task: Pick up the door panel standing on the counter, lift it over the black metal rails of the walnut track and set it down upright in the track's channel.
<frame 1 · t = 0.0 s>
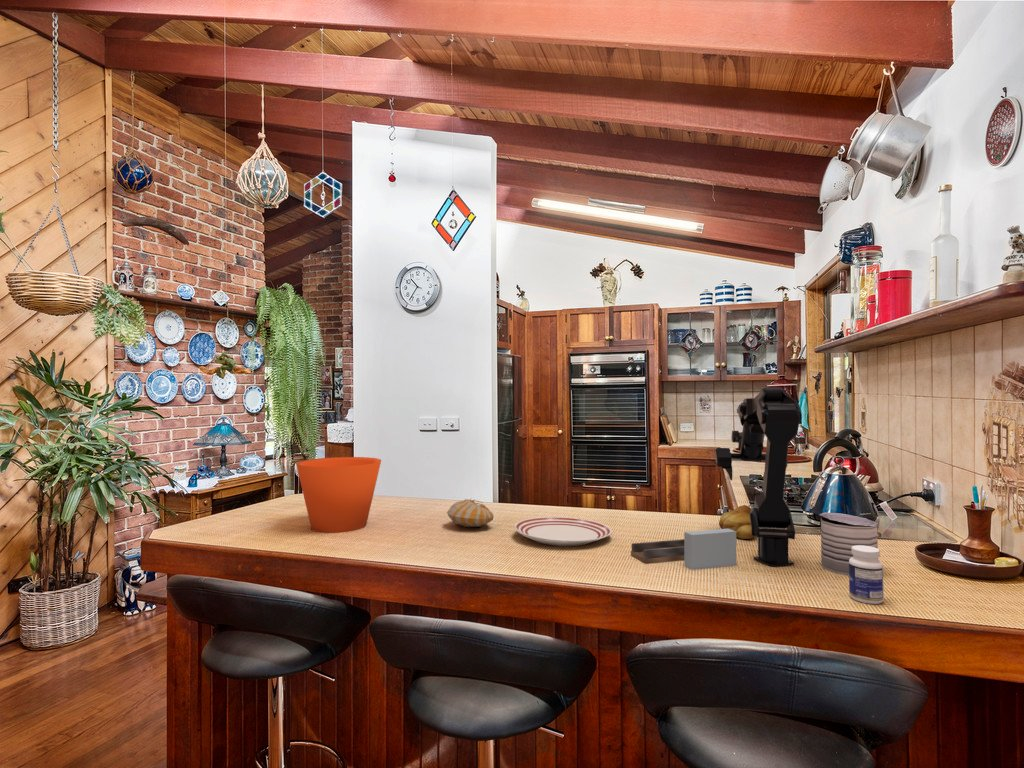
hand: (747, 480, 163), 15 cm above the table, fingers open, 9 cm apart
can: (848, 569, 127), on the table
bottom track: (670, 556, 137), on the table
bread roll: (738, 536, 158), on the table
dinner plate: (562, 538, 156), on the table
flowerpot: (339, 527, 169), on the table
nautilus: (473, 525, 172), on the table
pill bottle: (866, 600, 108), on the table
door panel: (710, 565, 130), on the table
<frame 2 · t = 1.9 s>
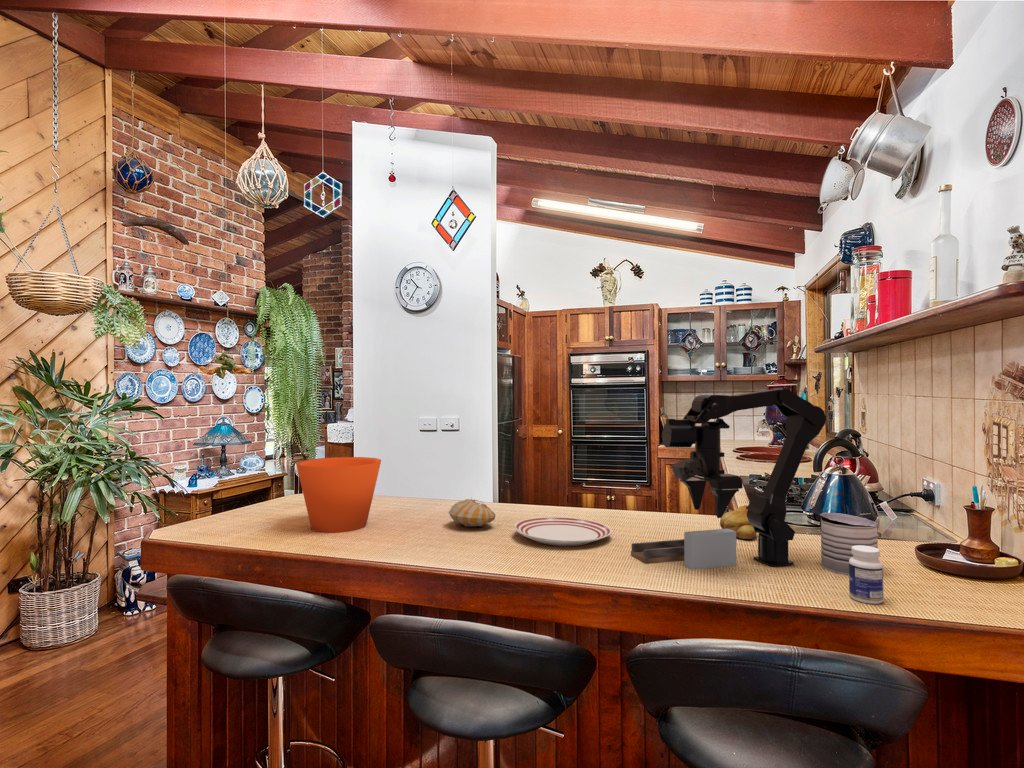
hand: (707, 513, 131), 12 cm above the table, fingers open, 9 cm apart
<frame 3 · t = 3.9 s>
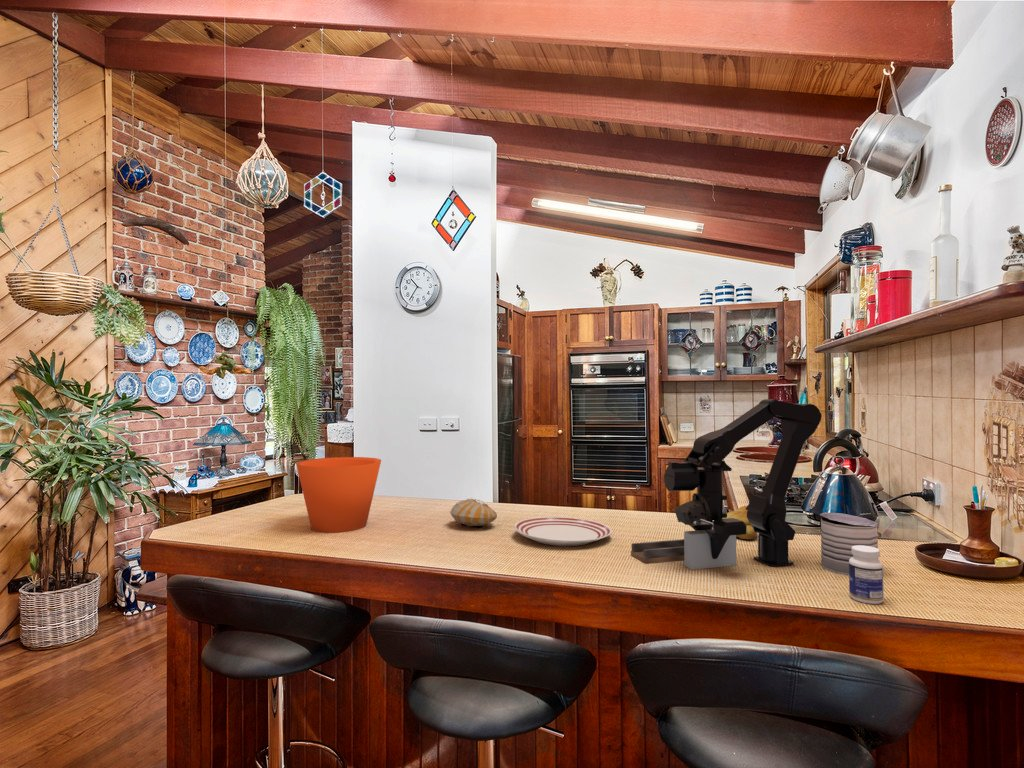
hand: (710, 556, 130), 2 cm above the table, fingers closed on door panel, 3 cm apart
door panel: (710, 565, 130), on the table, touching gripper
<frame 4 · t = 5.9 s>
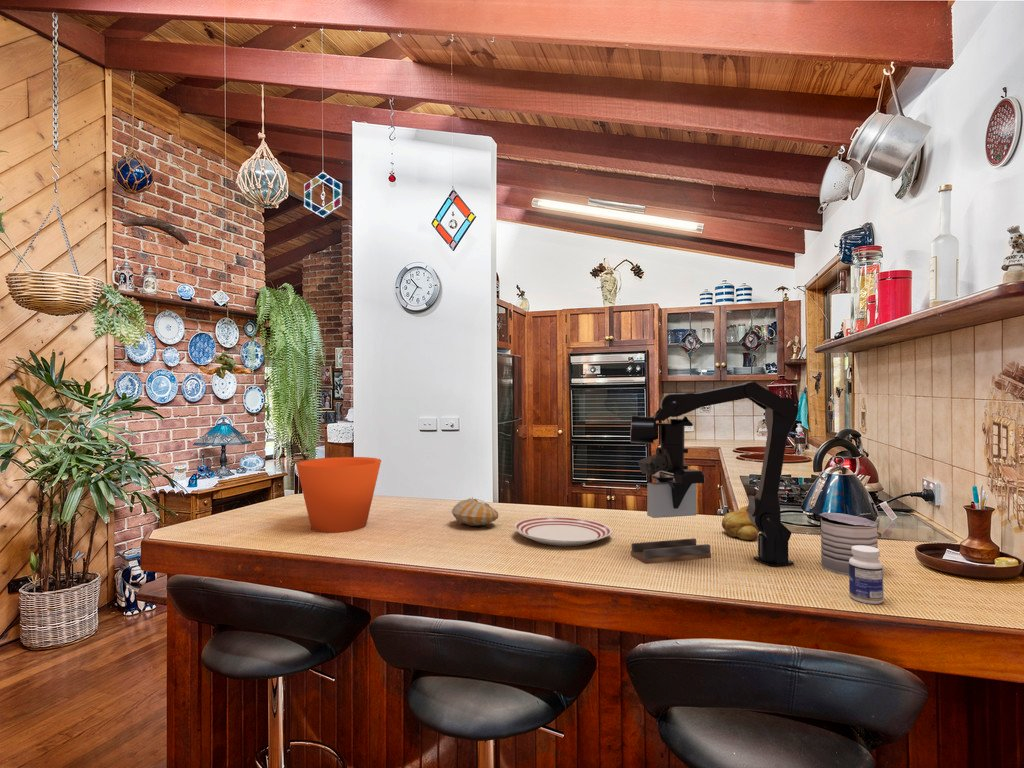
hand: (672, 507, 137), 12 cm above the table, fingers closed on door panel, 3 cm apart
door panel: (671, 515, 137), point 10 cm above the table, touching gripper
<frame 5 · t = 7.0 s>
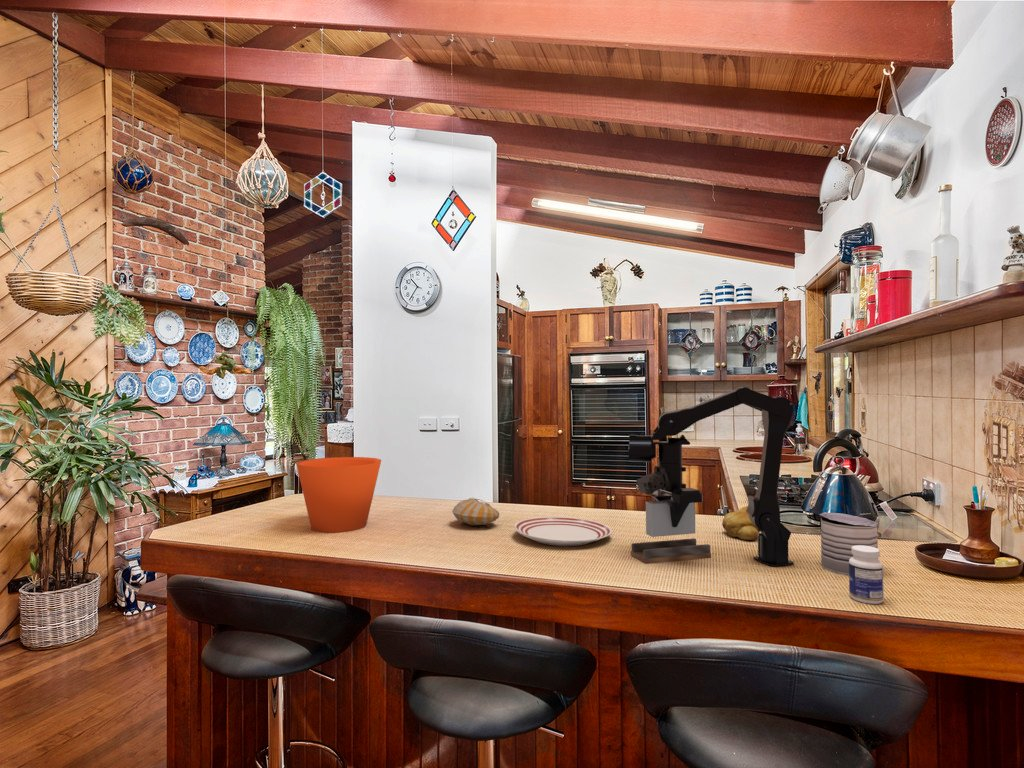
hand: (670, 525, 137), 8 cm above the table, fingers closed on door panel, 3 cm apart
door panel: (670, 533, 137), point 6 cm above the table, touching gripper
when the fingers open (4 cm above the table, at t = 8.0 s): door panel drops 1 cm, resting on bottom track.
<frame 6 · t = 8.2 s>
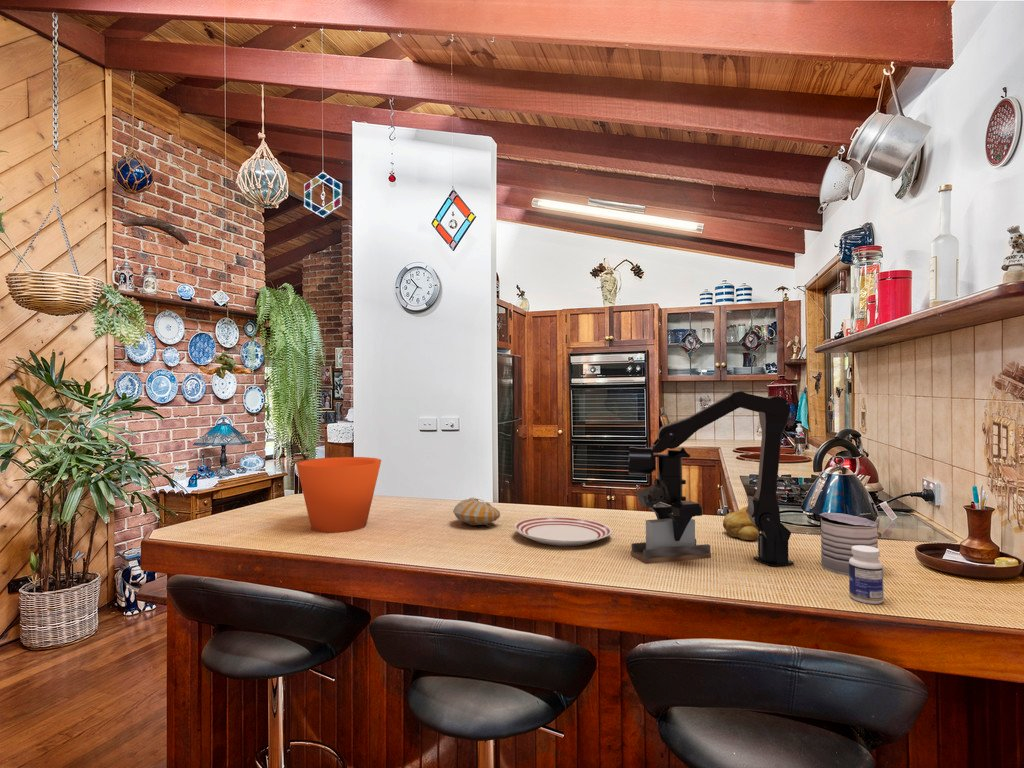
hand: (670, 538, 137), 4 cm above the table, fingers open, 5 cm apart
door panel: (670, 552, 137), point 1 cm above the table, touching bottom track
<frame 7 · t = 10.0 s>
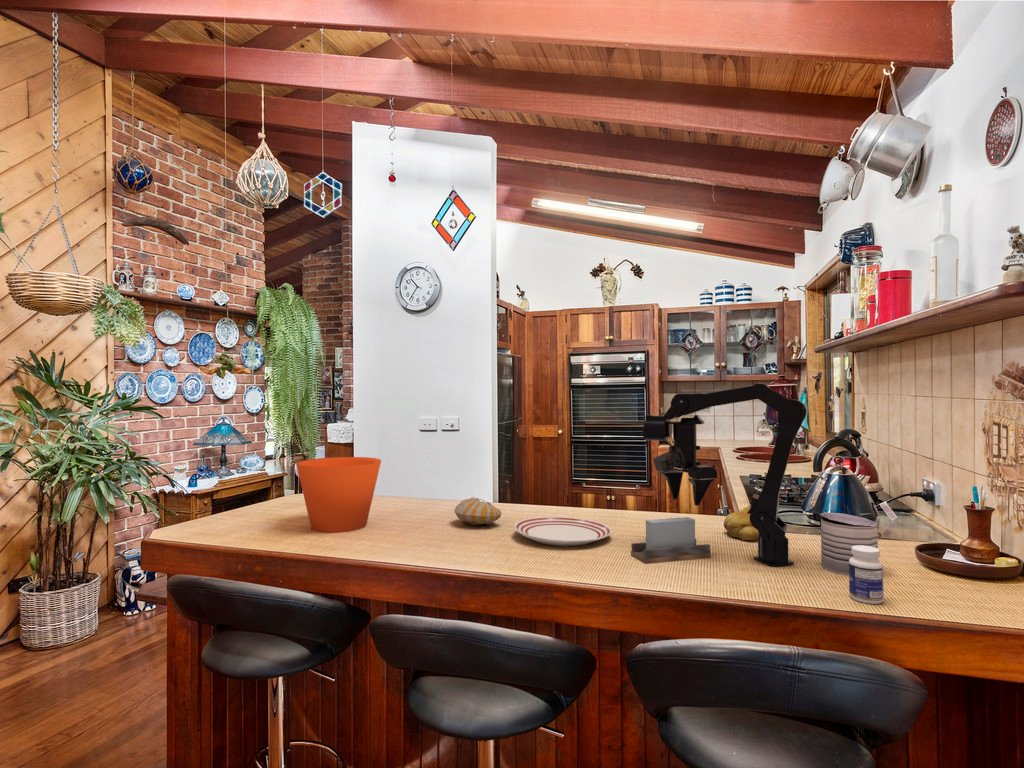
hand: (685, 502, 143), 12 cm above the table, fingers open, 9 cm apart
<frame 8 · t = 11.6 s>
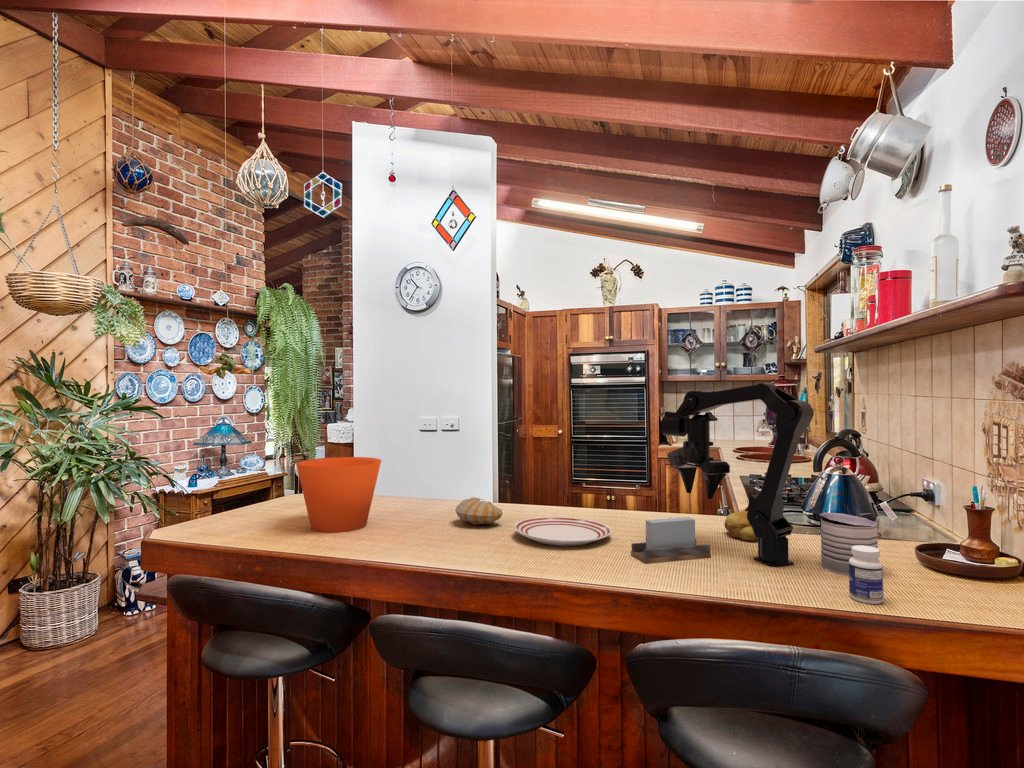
hand: (698, 496, 148), 13 cm above the table, fingers open, 9 cm apart
at the end: door panel inside the target area on the bottom track (0.0 cm from its centre), point 1.0 cm above the bottom track's base; door panel tilted 0°; the gripper is holding nothing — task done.
